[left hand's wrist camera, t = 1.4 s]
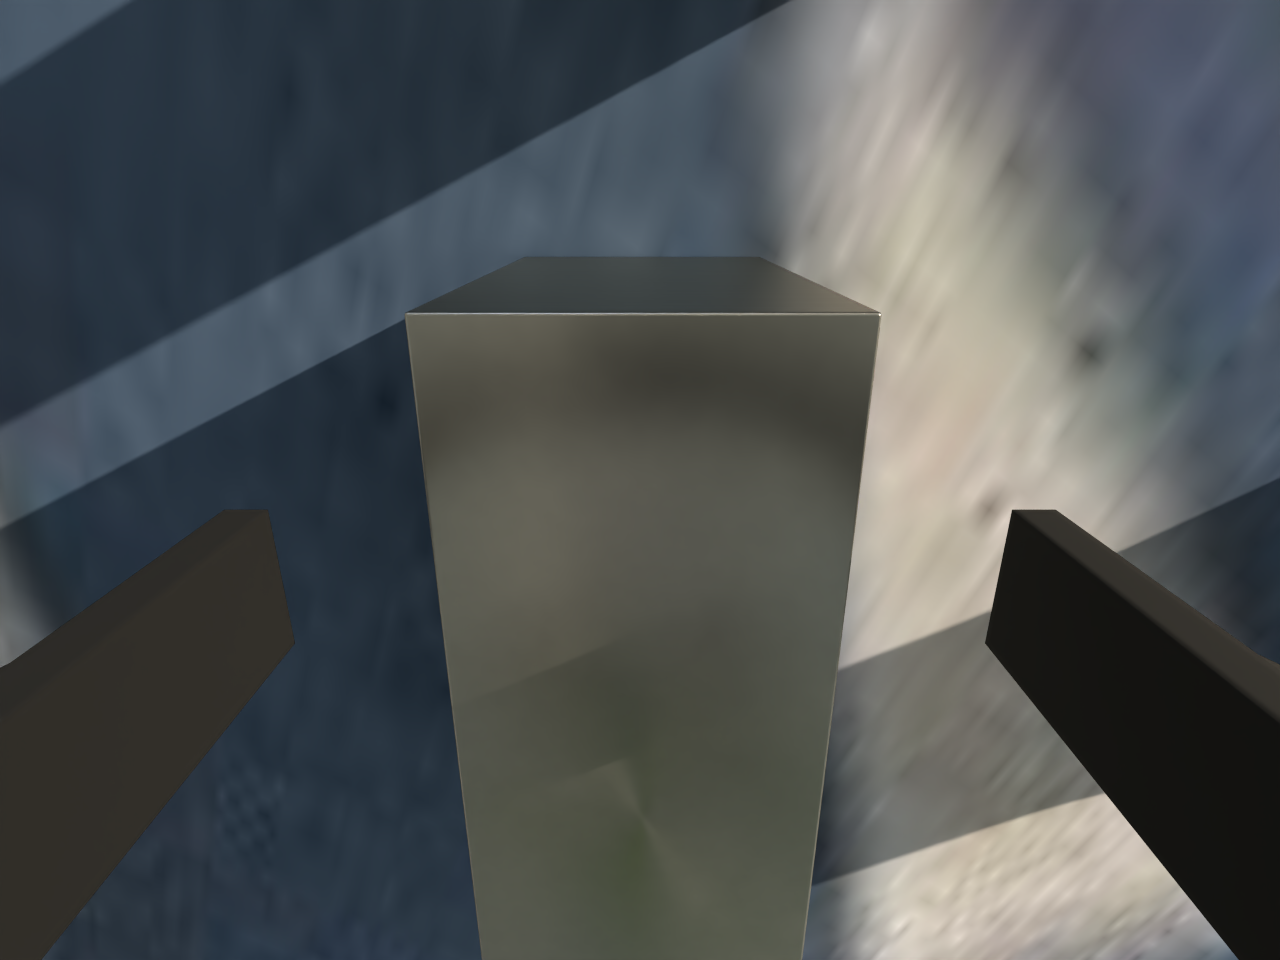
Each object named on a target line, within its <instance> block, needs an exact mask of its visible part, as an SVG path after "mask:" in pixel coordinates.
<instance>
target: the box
mask: <svg viewBox="0 0 1280 960" xmlns="http://www.w3.org/2000/svg"><path fill="white" fill-rule="evenodd" d="M405 322H406V331H407V339H408V347H409V356H410V364H411V372H412V381H413V389H414V397H415V406H416V414H417V422H418V431H419V439H420V447H421V456H422V464H423V472H424V481H425V489H426V497H427V506H428V514H429V522H430V531H431V539H432V547H433V556H434V564H435V572H436V581H437V589H438V597H439V606H440V614H441V622H442V631H443V639H444V647H445V656H446V664H447V672H448V681H449V689H450V697H451V706H452V714H453V722H454V731H455V739H456V747H457V756H458V764H459V772H460V781H461V789H462V797H463V806H464V814H465V822H466V831H467V839H468V847H469V856H470V864H471V872H472V881H473V889H474V897H475V906H476V914H477V922H478V931H479V939H480V947H481V956H482V960H802V956H803V947H804V939H805V931H806V923H807V915H808V907H809V899H810V891H811V882H812V874H813V866H814V858H815V850H816V842H817V834H818V826H819V817H820V809H821V801H822V793H823V785H824V777H825V769H826V761H827V752H828V744H829V736H830V728H831V720H832V712H833V704H834V696H835V687H836V679H837V671H838V663H839V655H840V647H841V639H842V630H843V622H844V614H845V606H846V598H847V590H848V582H849V574H850V565H851V557H852V549H853V541H854V533H855V525H856V517H857V509H858V500H859V492H860V484H861V476H862V468H863V460H864V452H865V444H866V435H867V427H868V419H869V411H870V403H871V395H872V387H873V379H874V370H875V362H876V354H877V346H878V338H879V330H880V322H881V313H880V312H877V311H875V310H873V309H871V308H869V307H867V306H864V305H862V304H860V303H858V302H856V301H854V300H851V299H849V298H847V297H845V296H843V295H841V294H838V293H836V292H834V291H832V290H830V289H828V288H825V287H823V286H821V285H819V284H817V283H815V282H812V281H810V280H808V279H806V278H804V277H802V276H799V275H797V274H795V273H793V272H791V271H789V270H786V269H784V268H782V267H780V266H778V265H776V264H773V263H771V262H769V261H767V260H765V259H763V258H760V257H524V258H522V259H520V260H517V261H515V262H513V263H511V264H509V265H507V266H505V267H502V268H500V269H498V270H496V271H494V272H492V273H490V274H487V275H485V276H483V277H481V278H479V279H477V280H475V281H472V282H470V283H468V284H466V285H464V286H462V287H460V288H457V289H455V290H453V291H451V292H449V293H447V294H445V295H442V296H440V297H438V298H436V299H434V300H432V301H430V302H427V303H425V304H423V305H421V306H419V307H417V308H415V309H412V310H410V311H408V312H406V313H405Z"/></svg>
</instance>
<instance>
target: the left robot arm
mask: <svg viewBox="0 0 1280 960" xmlns="http://www.w3.org/2000/svg"><path fill="white" fill-rule="evenodd" d="M294 644H295V641H294V636H293V631H292V627H291V622H290V617H289V612H288V607H287V602H286V597H285V592H284V587H283V582H282V577H281V572H280V567H279V562H278V558H277V553H276V548H275V543H274V538H273V533H272V528H271V523H270V518H269V513H268V510H223V511H222V512H221V513H219V514H218V515H216V516H215V517H214V518H212V519H211V520H209V521H208V522H207V523H205V524H204V525H202V526H201V527H200V528H198V529H197V530H195V531H194V532H193V533H191V534H190V535H188V536H187V537H186V538H184V539H183V540H181V541H180V542H179V543H177V544H176V545H174V546H173V547H172V548H170V549H169V550H167V551H166V552H165V553H163V554H162V555H160V556H159V557H158V558H156V559H155V560H153V561H152V562H151V563H149V564H148V565H146V566H145V567H144V568H142V569H141V570H139V571H138V572H137V573H135V574H134V575H132V576H131V577H130V578H128V579H127V580H125V581H124V582H123V583H121V584H120V585H118V586H117V587H116V588H114V589H113V590H111V591H110V592H109V593H107V594H106V595H105V596H103V597H102V598H100V599H99V600H98V601H96V602H95V603H93V604H92V605H91V606H89V607H88V608H86V609H85V610H84V611H82V612H81V613H79V614H78V615H77V616H75V617H74V618H72V619H71V620H70V621H68V622H67V623H65V624H64V625H63V626H61V627H60V628H58V629H57V630H56V631H54V632H53V633H51V634H50V635H49V636H47V637H46V638H44V639H43V640H42V641H40V642H39V643H37V644H36V645H35V646H33V647H32V648H30V649H29V650H28V651H26V652H25V653H23V654H22V655H21V656H19V657H18V658H16V659H15V660H14V661H12V662H11V663H9V664H7V665H5V666H3V667H1V668H0V960H41V959H42V958H43V957H44V956H45V954H46V953H47V952H48V951H49V949H50V948H51V947H52V946H53V944H54V943H55V942H56V941H57V939H58V938H59V937H60V936H61V934H62V933H63V932H64V931H65V929H66V928H67V927H68V926H69V924H70V923H71V922H72V921H73V919H74V918H75V917H76V916H77V914H78V913H79V912H80V911H81V909H82V908H83V907H84V906H85V904H86V903H87V902H88V901H89V900H90V898H91V897H92V896H93V895H94V893H95V892H96V891H97V890H98V888H99V887H100V886H101V885H102V883H103V882H104V881H105V880H106V878H107V877H108V876H109V875H110V873H111V872H112V871H113V870H114V868H115V867H116V866H117V865H118V863H119V862H120V861H121V860H122V858H123V857H124V856H125V855H126V853H127V852H128V851H129V850H130V848H131V847H132V846H133V845H134V843H135V842H136V841H137V840H138V838H139V837H140V836H141V835H142V833H143V832H144V831H145V830H146V828H147V827H148V826H149V825H150V823H151V822H152V821H153V820H154V818H155V817H156V816H157V815H158V813H159V812H160V811H161V810H162V808H163V807H164V806H165V805H166V803H167V802H168V801H169V800H170V798H171V797H172V796H173V795H174V793H175V792H176V791H177V790H178V788H179V787H180V786H181V785H182V783H183V782H184V781H185V780H186V778H187V777H188V776H189V775H190V773H191V772H192V771H193V770H194V768H195V767H196V766H197V765H198V763H199V762H200V761H201V760H202V758H203V757H204V756H205V755H206V753H207V752H208V751H209V750H210V749H211V747H212V746H213V745H214V744H215V742H216V741H217V740H218V739H219V737H220V736H221V735H222V734H223V732H224V731H225V730H226V729H227V727H228V726H229V725H230V724H231V722H232V721H233V720H234V719H235V717H236V716H237V715H238V714H239V712H240V711H241V710H242V709H243V707H244V706H245V705H246V704H247V702H248V701H249V700H250V699H251V697H252V696H253V695H254V694H255V692H256V691H257V690H258V689H259V687H260V686H261V685H262V684H263V682H264V681H265V680H266V679H267V677H268V676H269V675H270V674H271V672H272V671H273V670H274V669H275V667H276V666H277V665H278V664H279V662H280V661H281V660H282V659H283V657H284V656H285V655H286V654H287V652H288V651H289V650H290V649H291V647H292V646H293V645H294ZM985 644H986V645H987V646H988V647H989V649H990V650H991V651H992V652H993V654H994V655H995V656H996V657H997V659H998V660H999V661H1000V662H1001V664H1002V665H1003V666H1004V667H1005V669H1006V670H1007V671H1008V672H1009V674H1010V675H1011V676H1012V677H1013V679H1014V680H1015V681H1016V682H1017V684H1018V685H1019V686H1020V687H1021V689H1022V690H1023V691H1024V692H1025V694H1026V695H1027V696H1028V697H1029V699H1030V700H1031V701H1032V702H1033V704H1034V705H1035V706H1036V707H1037V709H1038V710H1039V711H1040V712H1041V714H1042V715H1043V716H1044V717H1045V719H1046V720H1047V721H1048V722H1049V724H1050V725H1051V726H1052V727H1053V729H1054V730H1055V731H1056V732H1057V734H1058V735H1059V736H1060V737H1061V739H1062V740H1063V741H1064V742H1065V744H1066V745H1067V746H1068V747H1069V749H1070V750H1071V751H1072V752H1073V753H1074V755H1075V756H1076V757H1077V758H1078V760H1079V761H1080V762H1081V763H1082V765H1083V766H1084V767H1085V768H1086V770H1087V771H1088V772H1089V773H1090V775H1091V776H1092V777H1093V778H1094V780H1095V781H1096V782H1097V783H1098V785H1099V786H1100V787H1101V788H1102V790H1103V791H1104V792H1105V793H1106V795H1107V796H1108V797H1109V798H1110V800H1111V801H1112V802H1113V803H1114V805H1115V806H1116V807H1117V808H1118V810H1119V811H1120V812H1121V813H1122V815H1123V816H1124V817H1125V818H1126V820H1127V821H1128V822H1129V823H1130V825H1131V826H1132V827H1133V828H1134V830H1135V831H1136V832H1137V833H1138V835H1139V836H1140V837H1141V838H1142V840H1143V841H1144V842H1145V843H1146V845H1147V846H1148V847H1149V848H1150V850H1151V851H1152V852H1153V853H1154V855H1155V856H1156V857H1157V858H1158V860H1159V861H1160V862H1161V863H1162V865H1163V866H1164V867H1165V868H1166V870H1167V871H1168V872H1169V873H1170V875H1171V876H1172V877H1173V878H1174V880H1175V881H1176V882H1177V883H1178V885H1179V886H1180V887H1181V888H1182V890H1183V891H1184V892H1185V893H1186V895H1187V896H1188V897H1189V898H1190V900H1191V901H1192V902H1193V903H1194V905H1195V906H1196V907H1197V908H1198V909H1199V911H1200V912H1201V913H1202V914H1203V916H1204V917H1205V918H1206V919H1207V921H1208V922H1209V923H1210V924H1211V926H1212V927H1213V928H1214V929H1215V931H1216V932H1217V933H1218V934H1219V936H1220V937H1221V938H1222V939H1223V941H1224V942H1225V943H1226V944H1227V946H1228V947H1229V948H1230V949H1231V951H1232V952H1233V953H1234V954H1235V956H1236V957H1237V958H1238V959H1239V960H1280V665H1279V664H1277V663H1275V662H1273V661H1271V660H1269V659H1267V658H1265V657H1263V656H1261V655H1258V654H1257V653H1255V652H1254V651H1252V650H1251V649H1250V648H1248V647H1247V646H1245V645H1244V644H1243V643H1241V642H1240V641H1238V640H1237V639H1236V638H1234V637H1233V636H1231V635H1230V634H1229V633H1227V632H1226V631H1224V630H1223V629H1222V628H1220V627H1219V626H1217V625H1216V624H1215V623H1213V622H1212V621H1210V620H1209V619H1208V618H1206V617H1205V616H1203V615H1202V614H1201V613H1199V612H1198V611H1196V610H1195V609H1194V608H1192V607H1191V606H1189V605H1188V604H1187V603H1185V602H1184V601H1182V600H1181V599H1180V598H1178V597H1177V596H1175V595H1174V594H1173V593H1171V592H1170V591H1168V590H1167V589H1166V588H1164V587H1163V586H1162V585H1160V584H1159V583H1157V582H1156V581H1155V580H1153V579H1152V578H1150V577H1149V576H1148V575H1146V574H1145V573H1143V572H1142V571H1141V570H1139V569H1138V568H1136V567H1135V566H1134V565H1132V564H1131V563H1129V562H1128V561H1127V560H1125V559H1124V558H1122V557H1121V556H1120V555H1118V554H1117V553H1115V552H1114V551H1113V550H1111V549H1110V548H1108V547H1107V546H1106V545H1104V544H1103V543H1101V542H1100V541H1099V540H1097V539H1096V538H1094V537H1093V536H1092V535H1090V534H1089V533H1087V532H1086V531H1085V530H1083V529H1082V528H1080V527H1079V526H1078V525H1076V524H1075V523H1073V522H1072V521H1071V520H1069V519H1068V518H1066V517H1065V516H1064V515H1062V514H1061V513H1059V512H1058V511H1057V510H1012V513H1011V518H1010V523H1009V528H1008V533H1007V538H1006V543H1005V548H1004V553H1003V558H1002V562H1001V567H1000V572H999V577H998V582H997V587H996V592H995V597H994V602H993V607H992V612H991V617H990V622H989V627H988V631H987V636H986V641H985Z"/></svg>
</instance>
